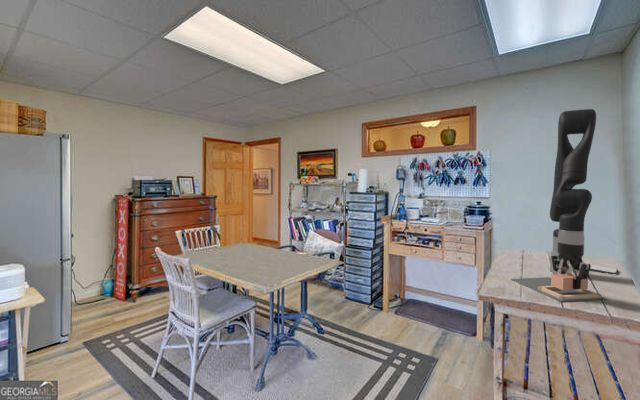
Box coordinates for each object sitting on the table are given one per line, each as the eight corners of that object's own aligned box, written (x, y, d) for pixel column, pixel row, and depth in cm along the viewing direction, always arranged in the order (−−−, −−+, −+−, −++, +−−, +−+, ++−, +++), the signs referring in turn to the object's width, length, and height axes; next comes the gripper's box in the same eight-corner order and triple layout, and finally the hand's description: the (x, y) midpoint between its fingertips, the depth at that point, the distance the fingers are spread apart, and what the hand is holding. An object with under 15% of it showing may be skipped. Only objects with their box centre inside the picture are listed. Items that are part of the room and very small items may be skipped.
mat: (511, 279, 128) (511, 276, 128) (549, 278, 130) (549, 274, 130) (560, 302, 105) (561, 297, 105) (606, 299, 106) (606, 295, 106)
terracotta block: (574, 284, 114) (575, 273, 114) (587, 289, 109) (588, 277, 109) (550, 285, 113) (551, 274, 113) (562, 290, 108) (563, 278, 108)
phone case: (618, 272, 139) (574, 264, 151) (618, 269, 138) (574, 261, 151) (616, 276, 133) (570, 268, 145) (616, 273, 133) (570, 265, 145)
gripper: (599, 245, 103) (597, 293, 104) (562, 238, 118) (560, 279, 119) (580, 246, 103) (578, 294, 104) (545, 238, 117) (543, 280, 118)
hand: (568, 286), depth 111 cm, fingers closed on terracotta block, 5 cm apart
